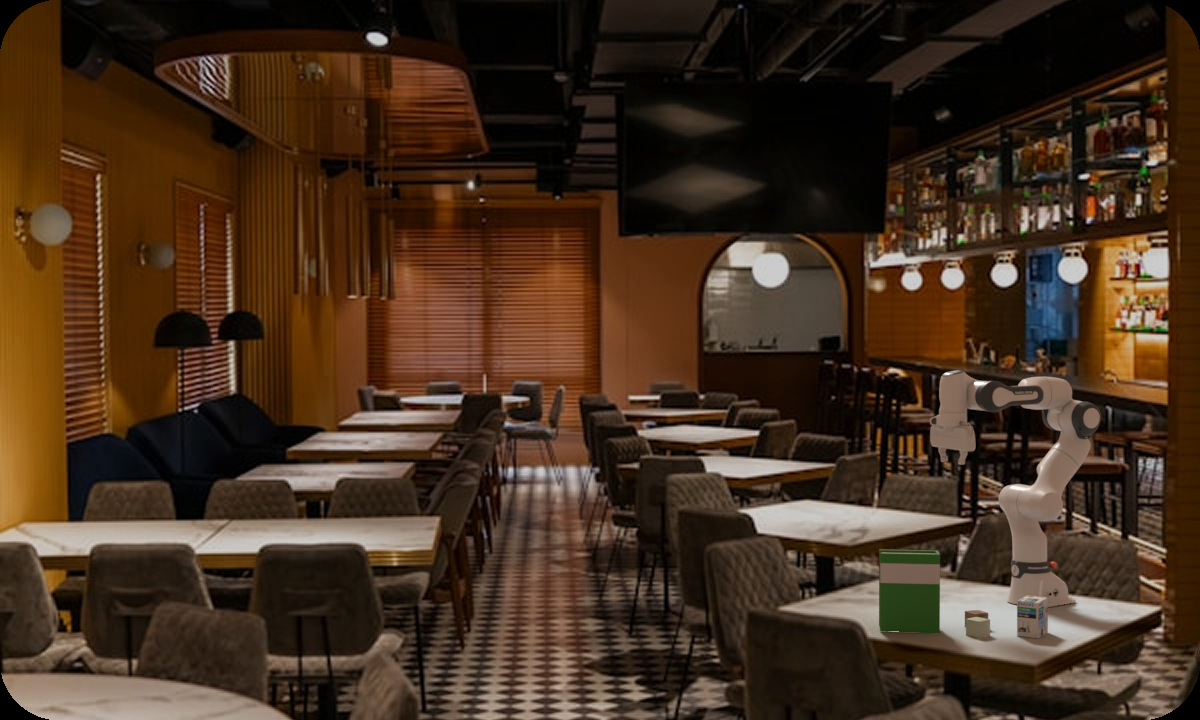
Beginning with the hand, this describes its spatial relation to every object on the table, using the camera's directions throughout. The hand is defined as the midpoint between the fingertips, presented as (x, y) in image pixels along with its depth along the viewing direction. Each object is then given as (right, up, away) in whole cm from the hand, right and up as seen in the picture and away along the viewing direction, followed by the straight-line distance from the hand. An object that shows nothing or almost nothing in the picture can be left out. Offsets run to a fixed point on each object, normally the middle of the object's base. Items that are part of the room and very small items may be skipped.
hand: (952, 463), depth 477 cm
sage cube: (-1, -49, -37) cm, 61 cm away
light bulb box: (+15, -49, -35) cm, 63 cm away
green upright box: (-20, -49, -29) cm, 61 cm away
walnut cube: (+1, -49, -26) cm, 55 cm away
